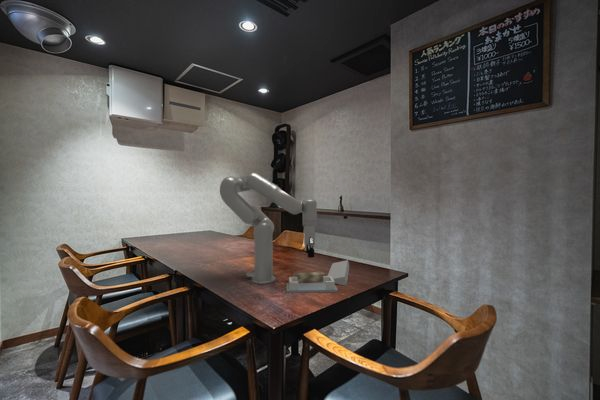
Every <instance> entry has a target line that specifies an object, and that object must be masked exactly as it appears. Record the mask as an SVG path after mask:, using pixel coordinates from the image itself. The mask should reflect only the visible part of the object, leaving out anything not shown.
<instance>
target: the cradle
mask: <svg viewBox="0 0 600 400" xmlns="http://www.w3.org/2000/svg"><path fill="white" fill-rule="evenodd" d="M285 288H286V293H288V294H289V293H294V294H295V293H297V294H298V293H301V294H302V293H338V292H339V290H338V287H337V286H336V283H335V281H334V280H333V278H332V276H328V275H326V276H323V281H322V282H298V277H294V276H289V277H288V283H287V282H286V286H285Z"/></svg>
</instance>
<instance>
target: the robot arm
mask: <svg viewBox="0 0 600 400" xmlns="http://www.w3.org/2000/svg"><path fill="white" fill-rule="evenodd" d="M247 191H254V192H256V193H258V194H259V195H261V196H263V197H264V198H266V199H267V200H269V201H270V202H271V203H274V204H275V205H277V206H278V207H280V208H281V209H283V210H285V211H286V212H288V213H289V214H291V215H298V214H300V213H302V227H303V233H304V234H303V235H304V236H303V243H304V245H305V248H306V249H305V253H306V254H307V258H310V259H311V258H312V259H313V258H315V245H316V244H315V243H316V227H317V226H318V218H317V217H318V213H317V211H318V210H317V209H318V207H317V204H318V203H317V201H316V199H297V198H295V197H293V196H292V195H290V194H288V193H287V192H286V191H284V190H282V188H280V187H279V186H278V185H276V183H273V182H272V181H270V180H269V179H267V178H265V177H263V176H261V175H260V174H259V173H257V172H253V171H252V172H249V173H248V174H247V175H244V176H238V177H236V176H226V177H225V178H223V180H222V181H221V183H220V185H219V195H220V198H221V200H222V201H223V202H224V204H225V205H226V206H227V207H228V208H229V209H230V210H231V211H232V212H233V213H234V214H235V215H236V216H237V217H238V218H239V219H240V220H241V221H242V222H243V223H244V224H247V225H251V226H252V227H253V241H254V246H253V248H254V250H253V251H254V271H252V272H249V271H247V272H245V276H246V277H247V278H251V279H250V280H251V282H252V283H254V284H257V285H259V284H260V285H266V284H271V283H274V282H275V281H276V276H274V275H273V271H274V270H273V269H274V268H273V266H274V265H273V260H274V259H273V258H274V257H273V254H274V253H273V252H274V251H273V250H274V249H273V247H274V246H273V241H274V240H273V239H274V238H273V234H274V231H275V224H274V222H273V221H272V220H271V219H270V218H269V217H268V216H267V214H265V213H264V212H263V211H262V210H261V209H260V208H259V207H257V206H255V205H251V204H250V203H248V202H247V200H246V199H245V198H243V197H242V196H241V195H240V194H239V193H242V192H247Z"/></svg>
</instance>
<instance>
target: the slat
mask: <svg viewBox="0 0 600 400" xmlns="http://www.w3.org/2000/svg"><path fill="white" fill-rule="evenodd" d="M325 274H326V273H324V271H320V272H319V271H317V272H315V271H314V272H294V273H293V277H298V282H299V283H323V276H325Z"/></svg>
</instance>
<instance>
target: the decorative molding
mask: <svg viewBox="0 0 600 400" xmlns="http://www.w3.org/2000/svg"><path fill="white" fill-rule="evenodd" d="M349 273H350V262H349V260H348V259H347V260H342V261H341V260H340V261H337V262H332V264H331V266H330V268H329V271H328V274H327V276H332V278H333V280H334V281H335V285H340V286H345V287H347V285H348V279H349Z"/></svg>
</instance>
